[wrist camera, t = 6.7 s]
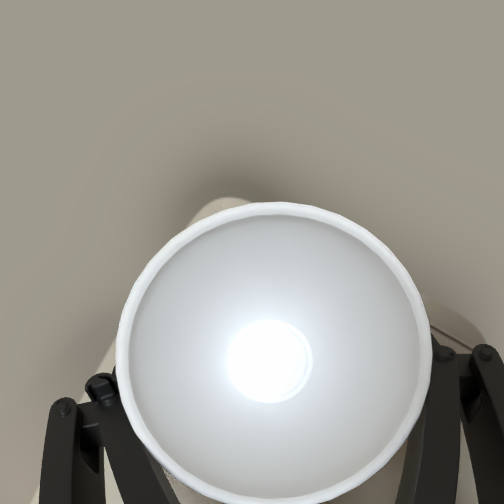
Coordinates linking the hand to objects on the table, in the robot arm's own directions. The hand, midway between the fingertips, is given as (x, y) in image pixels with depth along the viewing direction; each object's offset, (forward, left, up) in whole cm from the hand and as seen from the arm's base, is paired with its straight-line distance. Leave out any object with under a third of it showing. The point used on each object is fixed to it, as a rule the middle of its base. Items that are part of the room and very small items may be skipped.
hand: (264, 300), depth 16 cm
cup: (-1, +3, -4) cm, 5 cm away
